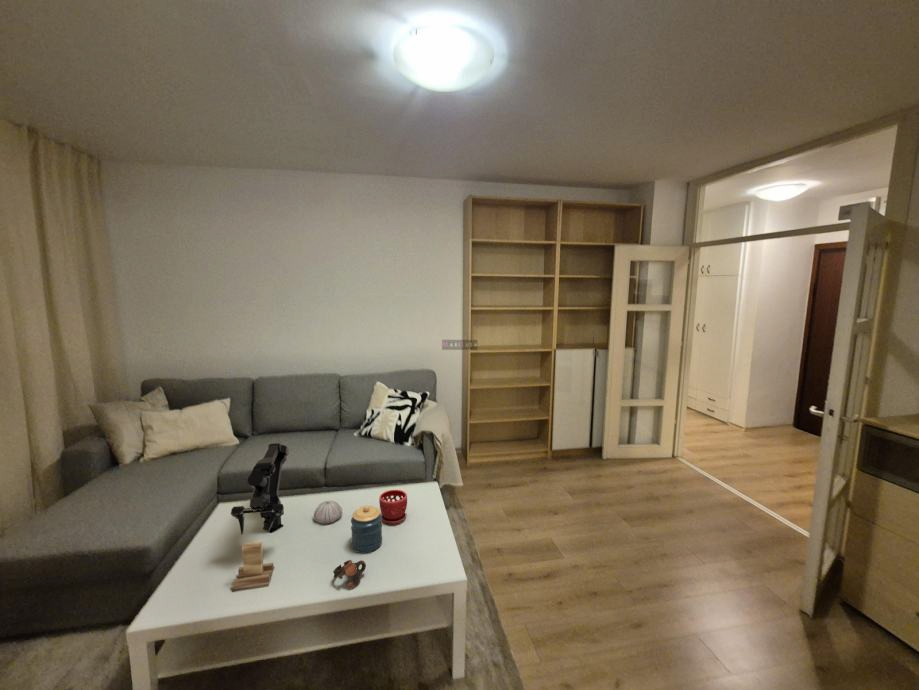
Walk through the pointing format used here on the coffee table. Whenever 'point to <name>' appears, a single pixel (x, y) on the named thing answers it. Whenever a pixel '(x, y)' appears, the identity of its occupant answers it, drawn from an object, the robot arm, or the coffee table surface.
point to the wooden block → (252, 559)
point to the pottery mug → (350, 572)
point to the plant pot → (393, 506)
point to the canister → (366, 529)
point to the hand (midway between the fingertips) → (254, 533)
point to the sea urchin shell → (327, 512)
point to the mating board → (253, 579)
